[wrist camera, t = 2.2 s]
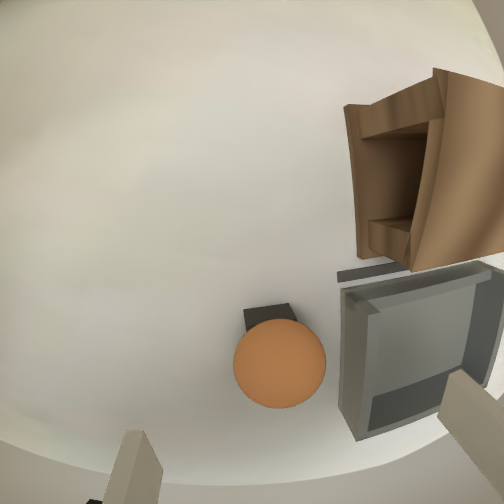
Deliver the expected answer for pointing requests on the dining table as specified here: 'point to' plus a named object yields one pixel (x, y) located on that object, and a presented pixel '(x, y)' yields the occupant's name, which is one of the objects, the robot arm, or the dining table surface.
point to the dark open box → (267, 314)
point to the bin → (416, 342)
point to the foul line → (370, 271)
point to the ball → (279, 363)
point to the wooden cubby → (429, 172)
